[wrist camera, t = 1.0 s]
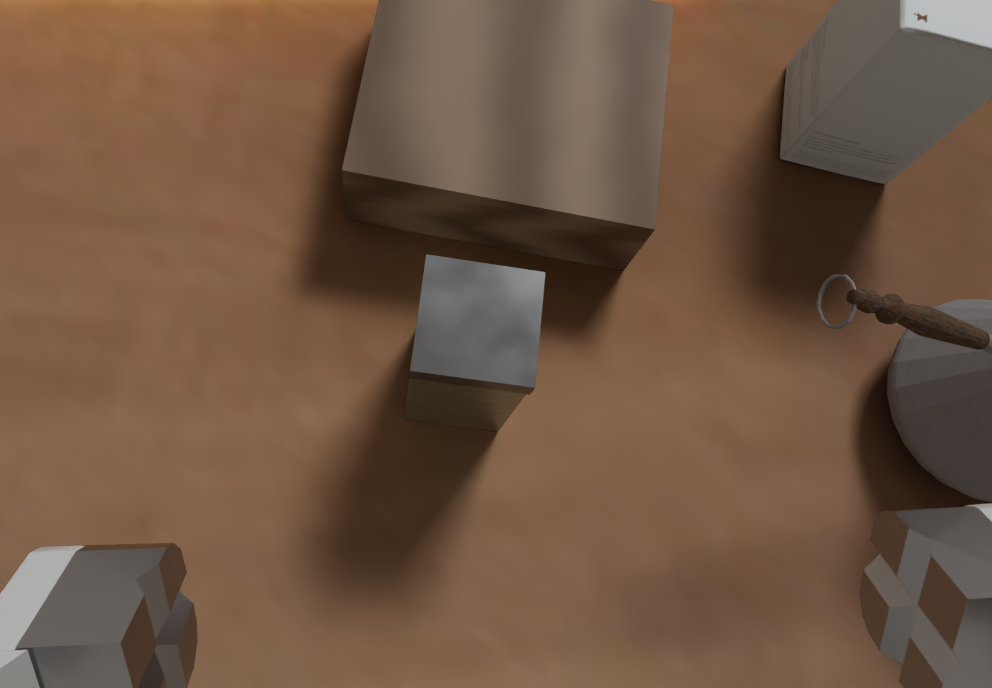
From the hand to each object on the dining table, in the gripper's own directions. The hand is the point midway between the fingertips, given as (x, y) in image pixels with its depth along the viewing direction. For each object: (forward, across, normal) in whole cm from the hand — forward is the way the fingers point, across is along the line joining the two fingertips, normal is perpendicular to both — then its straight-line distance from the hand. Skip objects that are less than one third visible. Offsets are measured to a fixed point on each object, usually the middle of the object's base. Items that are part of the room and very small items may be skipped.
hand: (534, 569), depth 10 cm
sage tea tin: (+32, +1, +14) cm, 35 cm away
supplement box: (+45, -24, +3) cm, 51 cm away
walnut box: (+42, -2, +3) cm, 42 cm away
